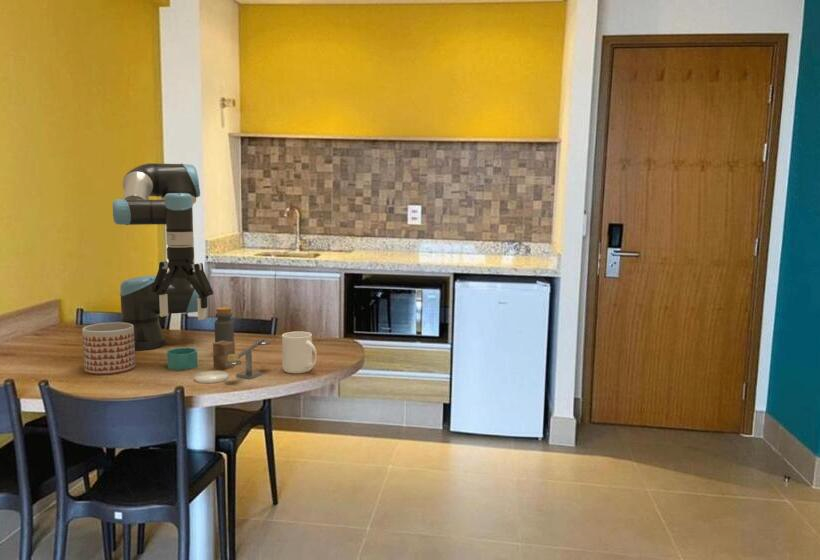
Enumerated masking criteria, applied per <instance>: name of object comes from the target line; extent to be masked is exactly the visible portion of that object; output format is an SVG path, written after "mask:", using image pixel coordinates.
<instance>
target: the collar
mask: <svg viewBox="0 0 820 560" xmlns="http://www.w3.org/2000/svg"><path fill="white" fill-rule="evenodd" d="M166 357H167V358H166V359H167V361H166V362H167V369H168V370H174V371H182V370H183V371H184V370H190V369H191V370H192V369H194V368H196V367H197V368H198V366H199V364H198V349H197V348H194V347H179V348H178V347H176V348H172V349H168V350H167V351H166Z"/></svg>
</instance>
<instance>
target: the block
mask: <svg viewBox="0 0 820 560" xmlns="http://www.w3.org/2000/svg"><path fill="white" fill-rule="evenodd" d="M235 344H236V342H235V341H234V342H231V341H219V342H216V343H215V342H213V343H212V349H213V350H212V355H213V358H212V360H213V361H212V362H213V369H218V370H226V371H227V370H228V369H232V368H234V367H236V366H227V365H225V362H226V361H228V355H230V354H236V348H235V347H236V345H235Z"/></svg>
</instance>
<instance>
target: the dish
mask: <svg viewBox="0 0 820 560" xmlns="http://www.w3.org/2000/svg"><path fill="white" fill-rule="evenodd" d="M228 379H229V372H226V371H221V370H209V371H201V372H198V373H196V374H195V375H194V382H196V383H199V384H216V383H222V382H225V381H227V380H228Z"/></svg>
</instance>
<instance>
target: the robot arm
mask: <svg viewBox="0 0 820 560" xmlns="http://www.w3.org/2000/svg"><path fill="white" fill-rule="evenodd" d="M122 188H123V189H122V190H123V195H122V196H123V197H122V198H121V199H114V200H113V201H112V217H113V222H114V224H116V225H120V226H121V225H124V226H134V225H136V226H142V225H143V226H144V225H145V226H147V225H156V226H157V225H160V226H161V225H165V226H166V229H165V231H166V232H165V234H166V235H165V236H166V237H165V239H166V245H167V248H166V259H167V260H168V261H167V260H166V261H160V262H158V270H157V273H156V275H154V274H153V275H143V276H138V277H137V276H136V277H133V278H128V279H125V280H124V281H122V282H121V283H120V287H119V288H120V290H119V293H120V294H119V297H120V309H121V311H120V312H121V322H123V323H130V324H132V325H133V326H134V342H135V351H145V350H153V349H157V348H161V347H163V346H165V345H166V337H165V334H164V333H163V330H162V326H161V324H160V317H161V318H162V317H167V316H169V315H170V314H191V313H197V319H198V321H203V320H206V319H207V313H206V311H207V310H206V309H207V308H208V307H209V306H208V305H209V304H208V297H209V296H211V295H214V291H213V288H212V286H211V283H210V281H209V279H208V277H207V275H206V273H205V269H204V264H203V263H202V262H199V263H195V245H194V244H195V241H194V240H195V237H194V223H193V222H194V219H193V218H194V215H193V213H194V212H193V207H194V204H195V203H196V202H197V198H198V197H200V196H201V188H200V181H199V176H198V172H197V168H196V166H194V164H186V163H152V162H150V163H143V164H140V165H138V166H136V167H134V168H132V169H130V170H129V171H128V172H127V173H126V174H125V175H124V177H123V179H122ZM150 197H157V198H158V197H159V198H160V197H161V199H150Z"/></svg>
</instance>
